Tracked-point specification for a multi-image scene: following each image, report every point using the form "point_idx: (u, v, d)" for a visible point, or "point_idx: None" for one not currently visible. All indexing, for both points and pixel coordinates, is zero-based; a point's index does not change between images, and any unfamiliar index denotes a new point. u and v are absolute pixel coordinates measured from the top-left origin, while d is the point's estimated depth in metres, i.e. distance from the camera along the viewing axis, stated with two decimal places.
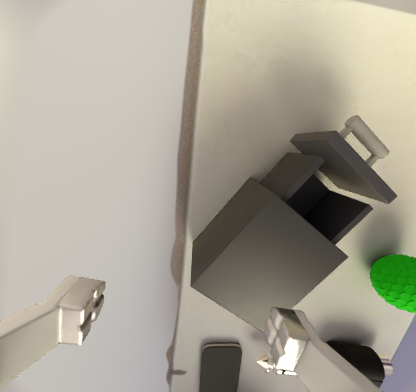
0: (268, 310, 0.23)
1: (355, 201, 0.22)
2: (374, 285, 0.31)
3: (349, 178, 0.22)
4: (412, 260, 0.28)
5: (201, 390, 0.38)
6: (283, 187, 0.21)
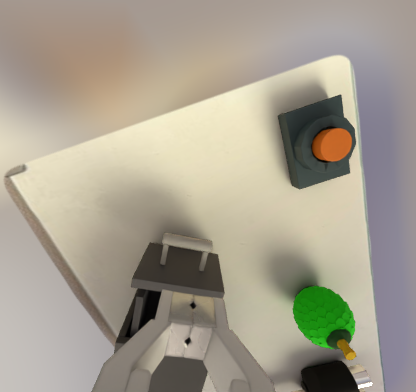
0: None
1: None
2: None
3: None
4: (314, 297, 0.28)
5: None
6: None
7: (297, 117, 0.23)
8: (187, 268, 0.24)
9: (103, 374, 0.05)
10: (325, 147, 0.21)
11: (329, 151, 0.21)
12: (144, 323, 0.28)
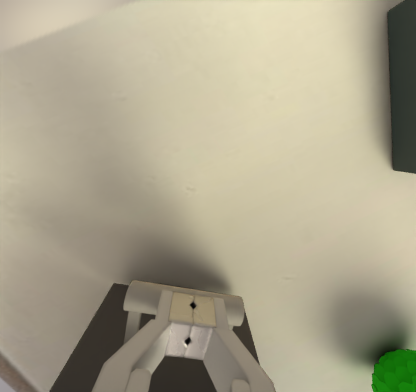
0: None
1: None
2: None
3: None
4: None
5: None
6: None
7: None
8: None
9: (103, 374, 0.05)
10: None
11: None
12: None
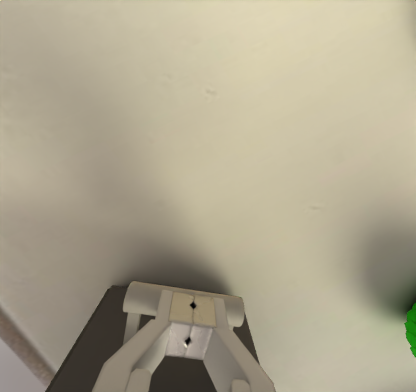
0: None
1: None
2: None
3: None
4: None
5: None
6: None
7: None
8: (185, 359, 0.11)
9: (103, 374, 0.05)
10: None
11: None
12: None
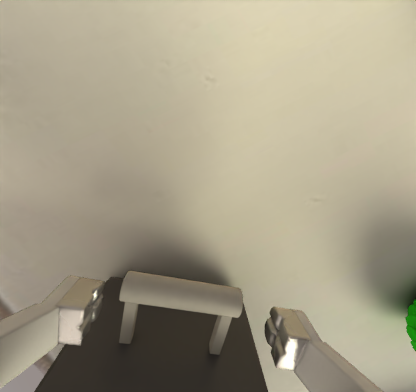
0: None
1: None
2: None
3: None
4: None
5: None
6: None
7: None
8: (183, 350, 0.11)
9: None
10: None
11: None
12: None
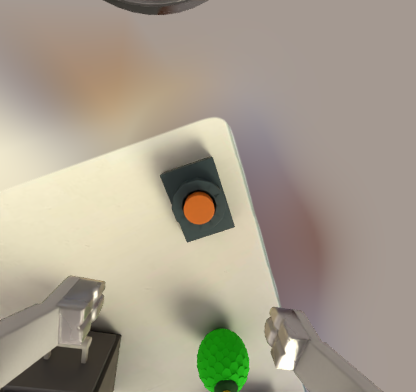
0: None
1: None
2: None
3: None
4: (211, 344, 0.29)
5: None
6: None
7: (172, 178, 0.24)
8: (69, 361, 0.27)
9: None
10: (188, 212, 0.22)
11: (193, 215, 0.22)
12: None
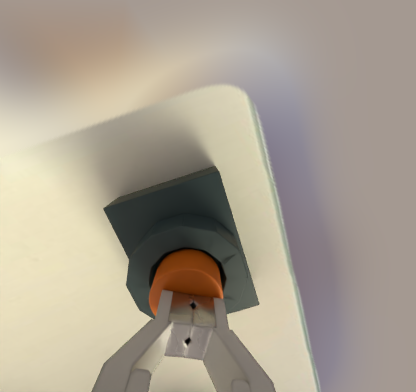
0: None
1: None
2: None
3: None
4: None
5: None
6: None
7: (130, 215, 0.11)
8: None
9: (103, 374, 0.05)
10: None
11: None
12: None
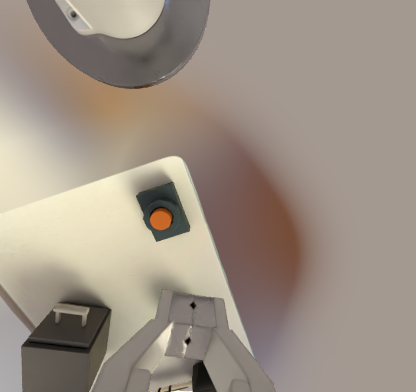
0: None
1: None
2: None
3: None
4: None
5: None
6: None
7: (144, 198, 0.35)
8: (73, 324, 0.38)
9: (103, 374, 0.05)
10: (153, 222, 0.33)
11: (156, 224, 0.33)
12: None
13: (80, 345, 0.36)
